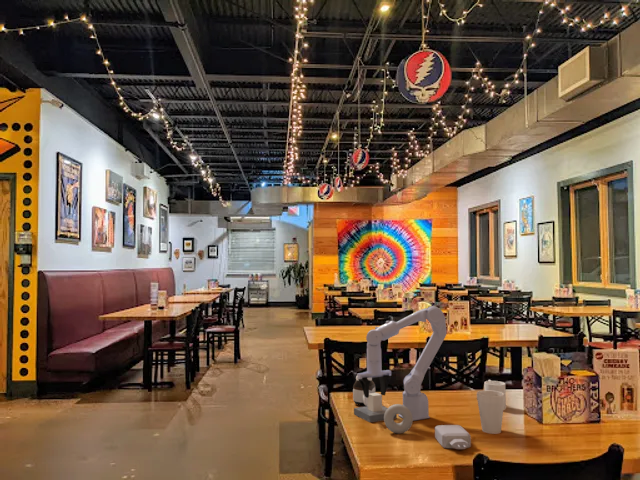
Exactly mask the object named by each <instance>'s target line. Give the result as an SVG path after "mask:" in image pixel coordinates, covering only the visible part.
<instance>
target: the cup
mask: <svg viewBox="0 0 640 480" xmlns="http://www.w3.org/2000/svg"><path fill="white" fill-rule="evenodd" d="M483 384H484V387H483V388H484V390H491V391H498V392H502V393H504V398H505V402H504V407H503V411H505V410H507V397H506V382H504V381H498V380H491V379H488V380H486V381H484V383H483Z"/></svg>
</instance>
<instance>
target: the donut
mask: <svg viewBox="0 0 640 480" xmlns="http://www.w3.org/2000/svg"><path fill="white" fill-rule="evenodd" d="M387 408H388V409H387V410H386V412H385V414H384V420H383V421H384V424H385V426H386V428H387V429H388V430H389V431H390V432H391V433H393V434H398V435H399V434H404V433H406V432H407V431H409V430H410V429H411V427H412V425H413V418H412V414H411V412H410V410H409V409H408V408H407V407H406V406H404V405H403V404H401V403H396V404H395V403H394V404H392V405H390V406H388V407H387ZM396 414H397V415H402V417H403V418H402V417H401V418H402V421H401V422H396V421H395V419H393V418H394V416H395V415H396Z"/></svg>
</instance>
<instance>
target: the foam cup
mask: <svg viewBox="0 0 640 480" xmlns="http://www.w3.org/2000/svg"><path fill="white" fill-rule="evenodd" d="M476 400H477V406H478V411H479V413H478V414H479V417H480V424H481V425H480V426H481V429H482V432H483V433H487V434H491V435H492V434H493V435H494V434H495V435H496V434H500V433H502V426H503V416H504V410H503V407H504V402H505V398H504V393H502V392H498V391H491V390H485V389H483V390H478V391H476Z"/></svg>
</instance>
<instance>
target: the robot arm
mask: <svg viewBox="0 0 640 480" xmlns="http://www.w3.org/2000/svg"><path fill="white" fill-rule="evenodd" d="M418 322H422V323H423V322H424V323H426V322H428V323H429V324H430V326H431V330H432V334H431V336H430V337H429V339H428V342H427V343H426V345H425V347H424V349H422V352H421V354H420V356H419V357H418V359H417V361H416V363H415V364H414V367H412V369H411V370H410V372H409V373H408V374H407V375H405V377H404V378H403V381H402V382H403V389H404V391H402V405H404V406H406V407H407V408H408V409H409V410H410V412H411V414H412V418H413V421H419V420H425V419H430V417H431V416H429V399H428V396H427V394H425V393H424V392H422V391H421V389H422V384H423V380H424V377H425V375H426V373H427V371H428V369H429V367H430V365H431V364H432V362H433V360H434V358H435V356H436V354H437V353H438V351H439V349H440V347H441V345H442V344H443V342H444V340H445V339H446V337H447V325H446V322H447V321H446V317H445V314H444V312H443V311H442V309H441V308H439V307H438V306H435V305H430V306H428V307H427V308H426V307H425V308H422V309H418V310H417V311H415V312H413V313H411V314H409V315H407V316H405V317H403V318H401V319H399V320H398V321H395V320H386V321H385V323H384V324H381V325H380V326H375V327H374V329H371V330H369V331H368V332H367V334H366V336H365V337H366V342H367V343H366V371H363V372H359V373H356V374H357V375H356V376H357V378H358V380H359V382H360V384H361V386H362V389H363V392H364V397H366V398H369V384H370V380H368V379H367V378H372V379H373V378H378V379H379V385H380V394H381V395H382V396H386V393H387V388H388V387H389V383H390V381H391V378H392V377H391V376H392V370H390V369H386V370H385V369H384V370H382V367H383V366H382V364H383V363H382V348H381V346H382V345H381V342H382V341H386V340H388V339H390V338H393V337H394V336H396V335H399V332H400V330H401V329H404V328H406V327H408V326H411V325H413V324H416V323H418ZM397 416H398V417H400V418H402V419H403V417H402V415H400V414H397ZM413 421H412V422H413Z"/></svg>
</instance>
